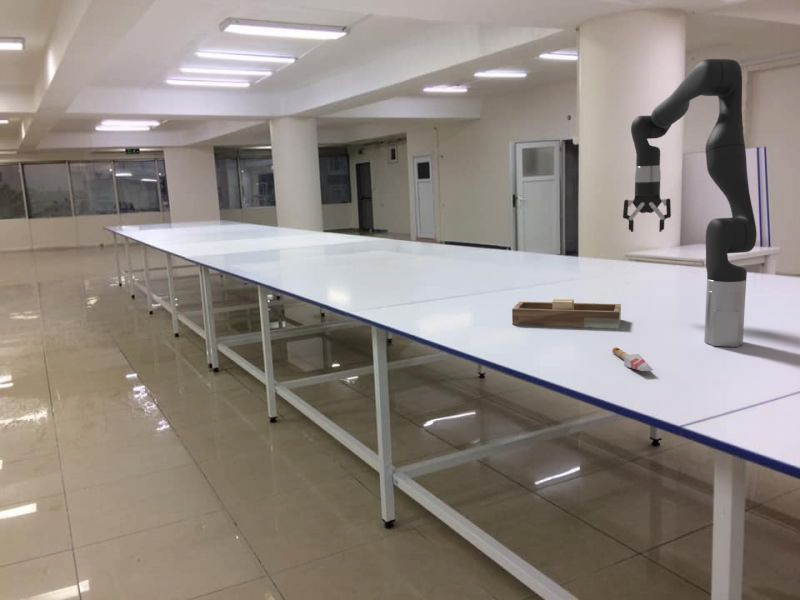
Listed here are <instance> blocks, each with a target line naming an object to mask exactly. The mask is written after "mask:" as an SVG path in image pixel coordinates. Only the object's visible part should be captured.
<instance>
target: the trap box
mask: <svg viewBox="0 0 800 600" xmlns="http://www.w3.org/2000/svg"><path fill="white" fill-rule="evenodd" d="M552 302H553V301H550V302H549V301H548V302H547V301H545V302H544V301H519V302H518V303H516V305H514V307H513V308H512V309H511V313H512V314H511V315H512V316H511V318H512V319H511V320H512V321H511V323H512V325H514V326H517V325H518V326H541V327H542V326H544V327H564V326H565V327H567V326H568V328H570V327H571V328H572V327H573V328H589V327H591V328H590V329H592V328H595V329H617V330H618V329H620V324H621V321H622V320H621V318H622V316H621V315H622V312H621V310H622V304H621V303H595V302H593V303H590V302H588V303H587V302H585V303H584V302H574V310H558V309H552ZM565 327H564V328H565Z"/></svg>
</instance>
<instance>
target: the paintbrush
mask: <svg viewBox="0 0 800 600" xmlns="http://www.w3.org/2000/svg"><path fill="white" fill-rule="evenodd" d="M611 351H612V354H614V355H615V356H617V357H618V358H621V359H622V360H624V361H623V362H624V363H623V366H624V367H626V368H630V369H634V370H636V371H641V372H646V371H647V372H649V371H654V369H653V368H652V367H651V366H650V364H649V363H648V362H647V361H646V360H645V359H644V358H643V357H642V356H641V355H640V354H639V353H637V354H636V353H634V354H632V353H631V354H629V353H627V352H626V351H624V350H622V349H621V348H619V347H616V346H615V347H613V348H612V350H611Z"/></svg>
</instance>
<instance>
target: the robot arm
mask: <svg viewBox="0 0 800 600" xmlns="http://www.w3.org/2000/svg"><path fill="white" fill-rule="evenodd" d="M700 96H706V97H717V98H718V105H719V107H718V108H719V110H718V112H719V113H718V117H717V121H716V123H715V125H714V126H713V128H712V130H711V132H710V134H709V136H708V138H707V140H706V144H705V158H706V159H705V160H706V168H707V172H708V175H709V176H710V178H711V179H712V181H713V182H714V184H715V185H716V186H717V187H718V188H719V189H720V191H721V192H722V193H723V195H724V196H725V198H726V199H727V202H728V205H729V208H730V212H731V216H732V217H719V218H714V219H712V220H710V221H709V223H708V224H707V227H706V230H705V268H706V291H705V293H706V295H705V316H704V317H705V318H704V337H703V339H704V340H703V341H704V342H705V343H706V344H708V345H711V346H713V347H732V348H739V346H741V345H743V343H744V331H745V330H744V329H745V310H746V308H745V307H746V295H747V294H746V292H747V277H748V276H747V274H748V273H747V272H748V271H747V269H746V268H745V267H742V266H739V265H736V264H733V263H731V262H730V261H729V256H728V254H739V253H750V252H751V251H752V250H754V248H755V246H756V243H757V236H758V235H757V233H758V232H757V225H756V220H755V215H754V208H753V205H752V200H751V193H750V188H749V178H748V177H749V176H748V168H747V167H748V165H747V164H748V163H747V154H746V153H747V152H746V143H745V137H744V136H745V135H744V125H743V123H744V122H743V72H742V68H741V65H740V63H739V62H738V61H737V60H735V59H730V58H729V59H727V58H707V59H703V60H701V61H699V62H698V63H697V64H696V65H695V66H694V67H693V68H692V69H691V70H690V72H689V73H688V74H687V75H686V76H685V78H684V79H683V80H682V81H681V83H680V84H679V85H678V87H677V88H676V89H675V90H674V91H673V92H672V93H671V95H669V96H668V97H666V99H665V100H663V101H662V102H661V103H659V104H658V105H657V106H656V107H655V108H654V109H653V110H652V112H651V115H639V116H637V117H635V118H634V119H633V120H632V122H631V125H630V133H631V138H632V141H633V145H634V149H635V153H636V158H635V163H636V165H635V166H636V167H635V173H634V199H624V201H623V211H622V218H623V219H624V220H625V219H626V220H627V221H628V230H629V231H630V232H631V233H634V226H635V225H634V222H635V221H634V218H635V217H636V215H638V213H641V214H645V213H649V214H652V213H655V215H657V217H658V218H659V230H658V232H660V233H662V231H664V229H665V220H666V219H669V218H671V216H672V214H671V213H672V211H671V210H672V208H671V199H670V198H663V199H661V180H662V177H661V173H662V172H661V150H660V147H658V146H656V145H655V146H654V145H651V144H650V142H649V141H648V140H651V139H659V138H662V137H663V136H665V135H666V134H667V133H668V132H669V129H670V128H671V127H672V125H673V124H675V123H676V122H677V121H679V120H680V119H682V118H683V117H684V116H685V114H686V113H687V112H688V111H689V106H690V103H691V100H694V99H695V98H697V97H700ZM661 203H662V204H663V206H665V209H666V214H663V213H662V211H661V210H660V209H659V206H661ZM632 204H633V205H634V207H635V209H634V210H633V212H632V213H631V215H628V213H629V208H630V207H631V206H632Z"/></svg>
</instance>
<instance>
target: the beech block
mask: <svg viewBox="0 0 800 600" xmlns="http://www.w3.org/2000/svg"><path fill="white" fill-rule="evenodd" d="M551 302H552V309H558V310H574V303H575V300H574V298H554V299H553V300H552V301H551Z"/></svg>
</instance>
